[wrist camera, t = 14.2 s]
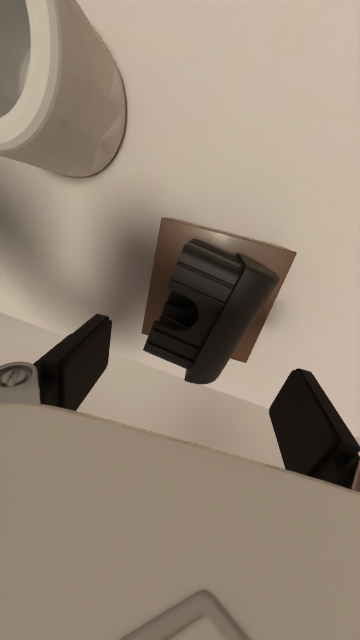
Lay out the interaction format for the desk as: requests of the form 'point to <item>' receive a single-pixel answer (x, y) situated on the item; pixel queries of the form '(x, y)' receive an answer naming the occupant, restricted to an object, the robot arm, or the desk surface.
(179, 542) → the robot arm
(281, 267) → the riser
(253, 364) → the desk surface
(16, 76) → the mug
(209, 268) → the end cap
